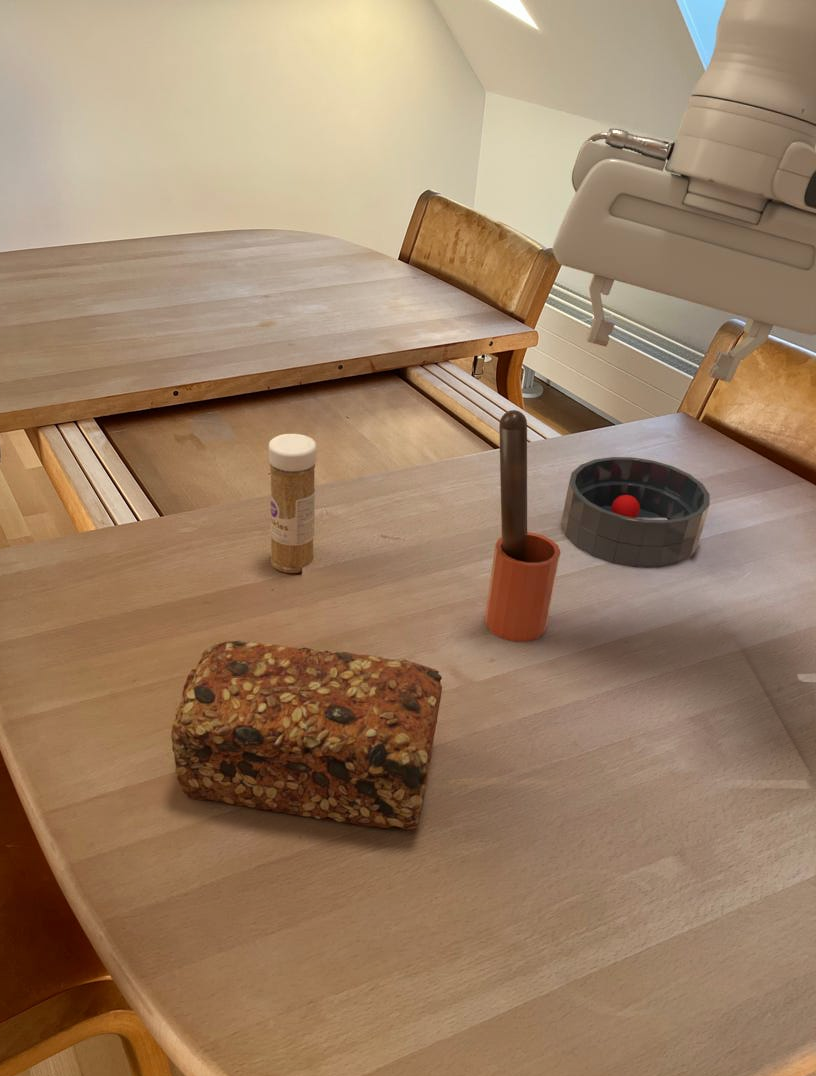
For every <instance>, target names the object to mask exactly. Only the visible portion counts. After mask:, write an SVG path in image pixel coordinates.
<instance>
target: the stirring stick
mask: <svg viewBox="0 0 816 1076" xmlns="http://www.w3.org/2000/svg"><path fill="white" fill-rule="evenodd" d="M498 424H499V425H498V426H499V427H498V428H499V471H500V472H499V473H500V475H499V476H500V477H499V478H500V479H499V480H500V524H501V525H500V527H501V528H500V529H501V530H500V531H501V537H502V551H503V552H504V553H505V554H506V555H507V556H509V557H511V558H513V559H515V560H518V561H522V562H527V532H528V420H527V417H526V416H525V414H524V413H523V412H521V411H520V410H517V409H511V410H508V411H506V412H505V413H504V414H503V415H502V416H501V417H500V419H499V423H498Z"/></svg>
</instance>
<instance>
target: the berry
mask: <svg viewBox="0 0 816 1076" xmlns="http://www.w3.org/2000/svg"><path fill="white" fill-rule="evenodd" d="M639 511H640V505H639V502H638V501H637V499H636V498H634V497H633V496H630V495H622V496H619V497H618V498H616V499H615V500H614V502H613V503H612V506H611V512H613V513H616V514H619V515H622V516H626V517H632V518H636V517H637V516H638V514H639Z"/></svg>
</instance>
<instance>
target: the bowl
mask: <svg viewBox="0 0 816 1076" xmlns="http://www.w3.org/2000/svg"><path fill="white" fill-rule="evenodd" d="M622 495H630V496H633V497H634V498H636V499H637V501H638V502H639V505H640V511H639V514H638V516H637V517H636V518H632V517H626V516H622V515H619V514H616V513H613V512H611V506H612V503H613V502H614V500H615V499H616V498H618V497H619V496H622ZM710 496H711V494H710V493H709V490H708V489H707V488H706V487H705V485H704V484H703V483H702V482H701V481H700V480H698V479H697V478H696V477H694V476H693V475H692V474H690V473H689V472H686V471H684V470H682V469H680V468H677V467H676V466H673V465H670V464H667V463H663V462H659V461H657V460H654V459H653V460H652V459H645V458H639V457H634V456H633V457H630V456H629V457H628V456H609V457H603V458H596V459H593V460H592V459H591V460H589V461H587V462H584V463H581V464H579V465H578V466H577V468H575V469H574V470H573V471H572V472H571V474H570V477H569V481H568V485H567V492H566V497H565V503H564V507H563V514H562V518H561V522H560V523H561V524H560V526H561V529H562V531H563V534H564V537H566V538H567V539H568V541H570V542H571V543H572V544H573V546H575V547H576V548H577V549H579V550H581V551H582V552H584V553H586V554H587V555H589V556H591V557H594V558H596V559H599V560H602V561H605V562H608V563H610V564H614V565H620V566H626V567H629V568H630V567H631V568H644V569H645V568H648V569H650V568H651V569H652V568H656V569H657V568H663V567H669V566H675V565H677V564H680V563H682V562H684V561H685V560H688V559H690V558H691V557H692V556H693V554H694V553H695V552H696V551H697V550H698V547H699V546H698V545H699V543H700V539H701V536H702V532H703V530H704V526H705V523H706V519H707V515H708V512H709V508H710V505H711V503H710V502H711V500H710V499H711V497H710ZM638 518H641V519H638ZM644 518H647V519H644ZM649 518H650V519H649Z"/></svg>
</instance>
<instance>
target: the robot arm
mask: <svg viewBox="0 0 816 1076" xmlns="http://www.w3.org/2000/svg"><path fill="white" fill-rule="evenodd" d="M715 33H716V34H715V42H714V47H713V51H712V55H711V57H710V60H709V63H708V65H707V67H706V69H705V70H704V73H703V74H702V76H701V77H700V79H699V80H698V81H697V82H696V84H695V86H694V88H693V90H692V92H691V95H690V98H689V101H688V103H687V106H686V109H685V112H684V114H683V117H682V119H681V122H680V125H679V128H678V131H677V133H676V136H675V138H674V141H673V142H669V141H665V140H661V139H658V138H655V137H649V136H641V135H635V134H633V133H630V132H629V131H627V130H624V129H620V128H609V130H608V132H599V133H596V134H592V136H590V137H588V138H587V139H586V140H585V141H584V142H583V144H582V145H581V147H580V149H579V151H578V154H577V157H576V160H575V163H574V166H573V169H572V172H571V184H572V188H573V190H574V192H575V193H574V195H573V197H572V199H571V201H570V203H569V205H568V208H567V210H566V211H565V214H564V217H563V218H562V221H561V224H560V226H559V229H558V231H557V234H556V237H555V239H554V243H553V245H552V248H551V249H552V253H553V256H554V258H555V261H556V262H557V264H558V265H559V266H563V267H568V268H571V269H574V270H577V271H581V272H585V273H587V274H592V275H593V276H592V278H591V281H590V284H589V287H588V290H589V296H590V303H591V308H592V313H593V320H592V322H591V326H590V328H589V331H588V333H587V337H586V342H587V343H591V344H594V345H598V346H601V347H607V346H608V344H609V341H610V336H609V335H611V334H612V333H613V330H614V328H615V324H616V323H615V321H614V320H613V319H609V318H606V317H605V314H604V313H605V312H604V307H603V301H602V295H603V296H609V295H610V292H611V291H612V288H613V285H614V282H615V281H617V282H620V283H622V284H623V283H624V284H626V285H630V286H633V287H637V288H640V289H644V290H648V291H651V292H654V293H657V294H658V293H659V294H662V295H666V296H669V297H672V298H676V299H680V300H682V301H686V302H690V303H694V304H697V305H701V306H704V307H706V308H707V307H708V308H711V309H714V310H718V311H722V312H725V313H728V314H733V315H736V316H740V317H743V318H746V322H745V325H744V327H743V329H742V330H743V332H744V333H745V334H746V335H747V336H746V337H745V338H744V339H742V340H741V341H740V342H739V343H737V344H736V345H735V346H734V347H733V348H732V349H731V350H730V351H728V352H725V351H721V350H717V351H716V353H715V356H714V358H713V363H712V364H711V365H710V367H709V370H708V376H709V377H710V378H712V379H716V380H719V381H723V382H726V383H731V381H732V380H733V378H734V376H735V374H736V372H737V369H738V367H739V364H740V362H741V361H743V360H745V359H746V358H747V357H749V356H750V355H751V354H752V353H754V352H755V351H757V349H758V348H760V347H761V346H762V345H763V344H764V343H765V342H767V340H768V338H769V336H770V334H771V331H772V329H773V327H774V326H775V327H778V328H782V329H785V330H789V331H792V332H796V333H799V334H803V335H807V336H810V337H812V336H816V0H725V3H724V5H723V8H722V10H721V13H720V16H719V18H718V22H717V25H716V32H715ZM599 140H605V141H604V143H605V144H603V143H600V142H598V141H599Z"/></svg>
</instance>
